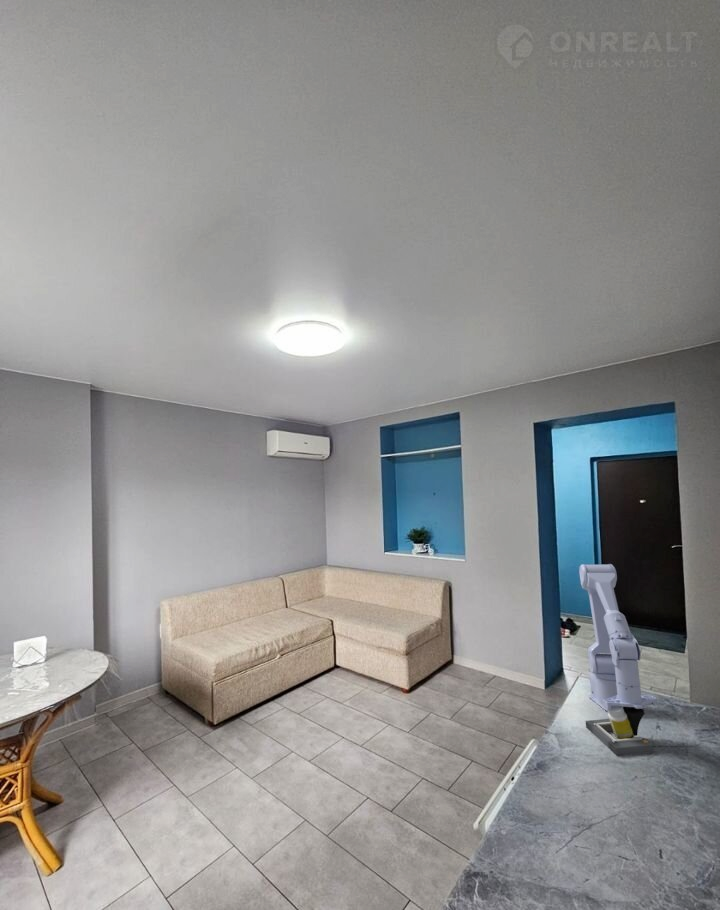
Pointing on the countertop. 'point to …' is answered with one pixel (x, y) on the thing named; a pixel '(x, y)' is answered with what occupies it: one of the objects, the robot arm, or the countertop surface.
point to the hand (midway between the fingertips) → (633, 733)
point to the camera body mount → (619, 745)
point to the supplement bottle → (620, 723)
